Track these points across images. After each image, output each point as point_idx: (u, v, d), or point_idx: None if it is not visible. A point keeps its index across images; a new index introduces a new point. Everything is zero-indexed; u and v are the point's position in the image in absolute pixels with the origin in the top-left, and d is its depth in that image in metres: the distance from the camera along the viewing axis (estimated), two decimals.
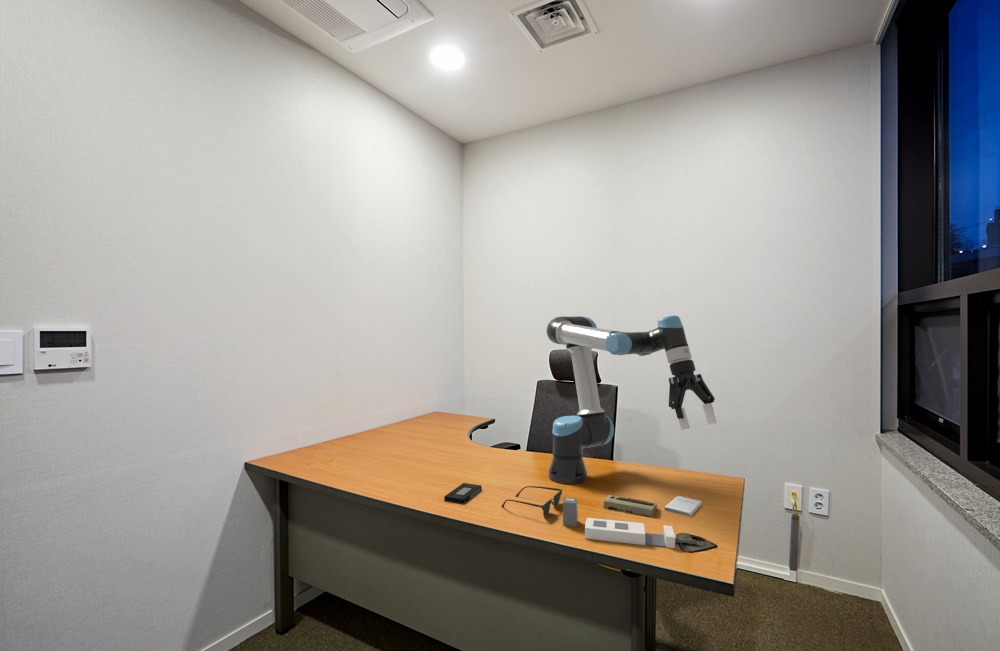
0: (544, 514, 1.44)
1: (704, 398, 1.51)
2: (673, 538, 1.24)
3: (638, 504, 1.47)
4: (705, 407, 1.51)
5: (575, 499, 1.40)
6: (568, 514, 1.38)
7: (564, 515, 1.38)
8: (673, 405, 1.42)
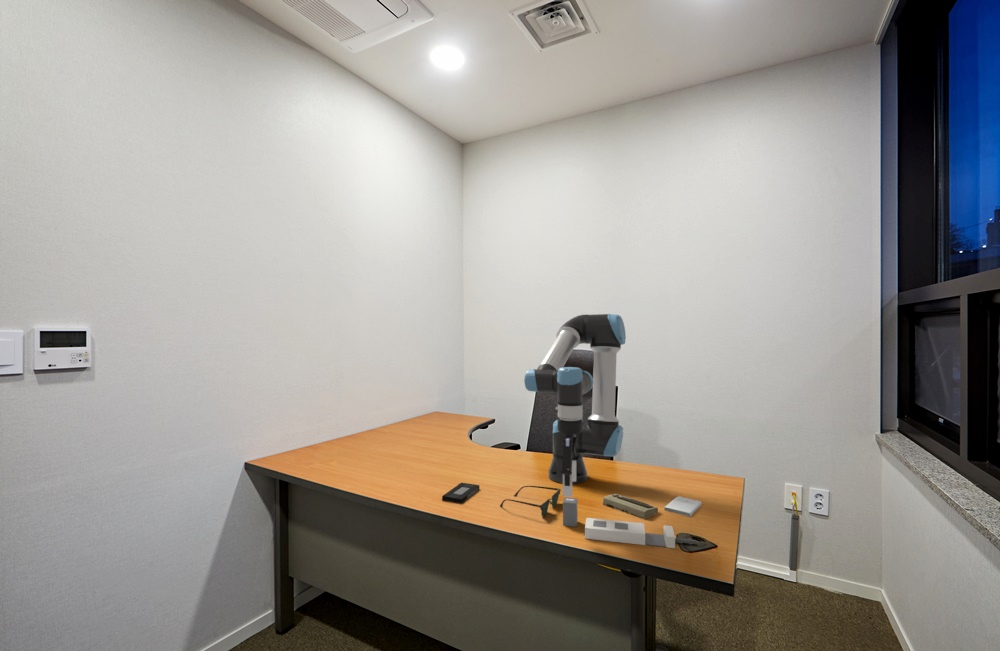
0: (542, 514, 1.44)
1: None
2: (673, 538, 1.24)
3: (635, 505, 1.47)
4: None
5: (575, 499, 1.40)
6: (568, 514, 1.38)
7: (564, 515, 1.38)
8: None
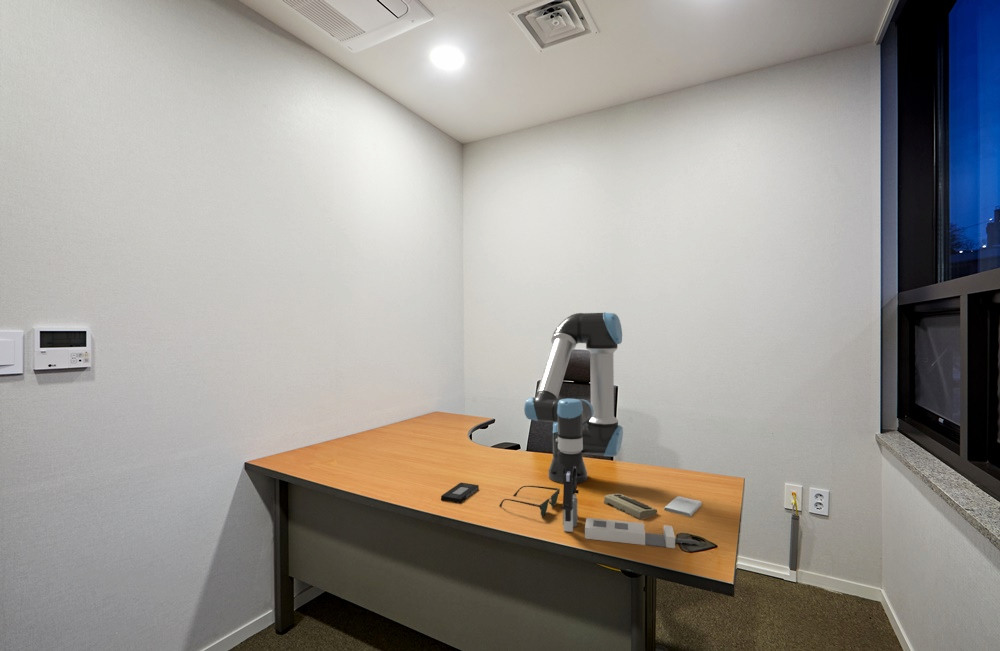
0: (541, 513, 1.44)
1: None
2: (673, 538, 1.24)
3: (633, 505, 1.47)
4: None
5: (575, 499, 1.40)
6: None
7: None
8: None
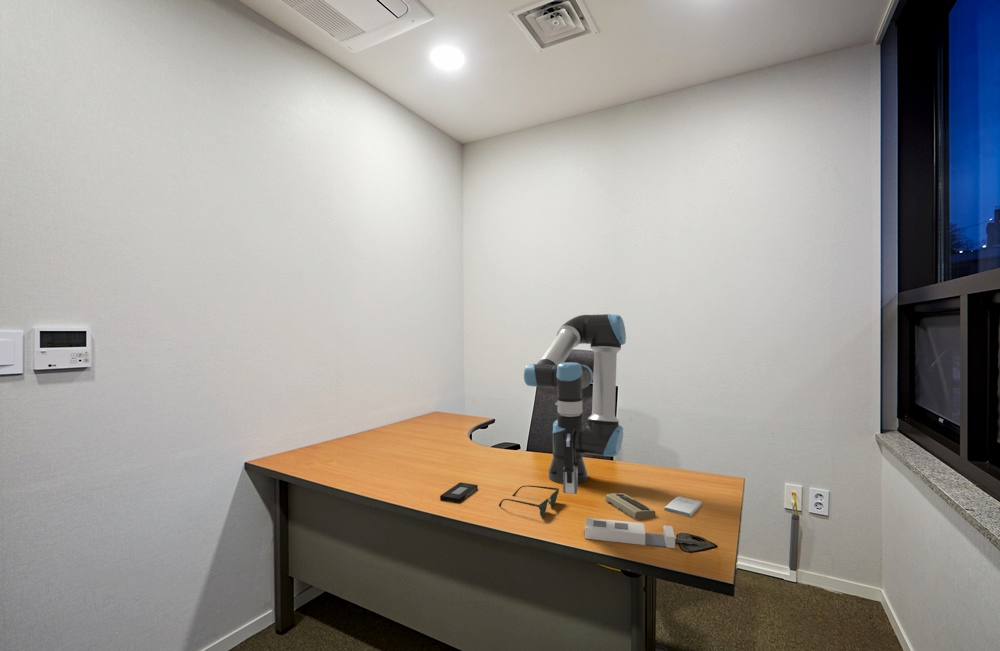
0: (541, 513, 1.44)
1: None
2: (673, 538, 1.24)
3: (631, 505, 1.47)
4: None
5: (575, 467, 1.40)
6: None
7: (564, 483, 1.38)
8: None
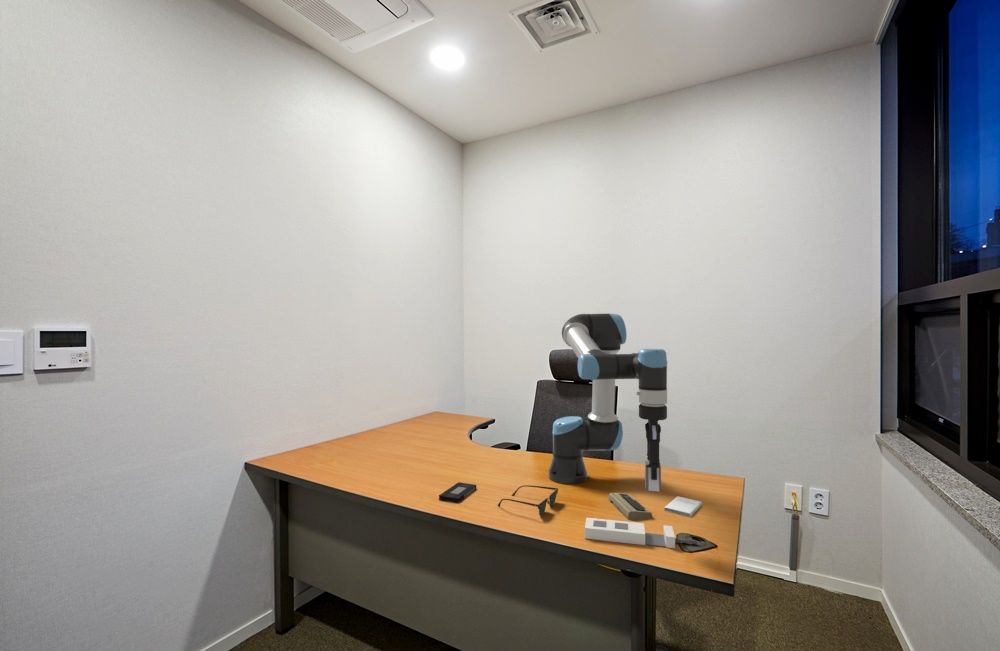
0: (540, 513, 1.44)
1: None
2: (673, 538, 1.24)
3: (628, 505, 1.47)
4: None
5: None
6: None
7: (647, 479, 1.27)
8: None
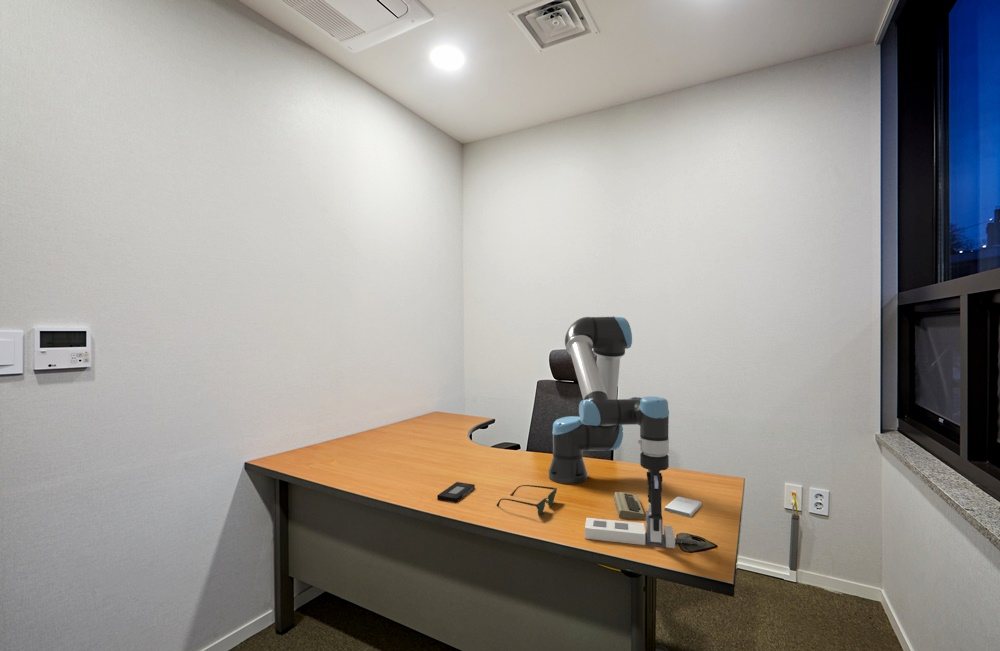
0: (539, 513, 1.45)
1: None
2: (673, 538, 1.24)
3: (624, 504, 1.47)
4: None
5: None
6: None
7: (649, 530, 1.27)
8: None
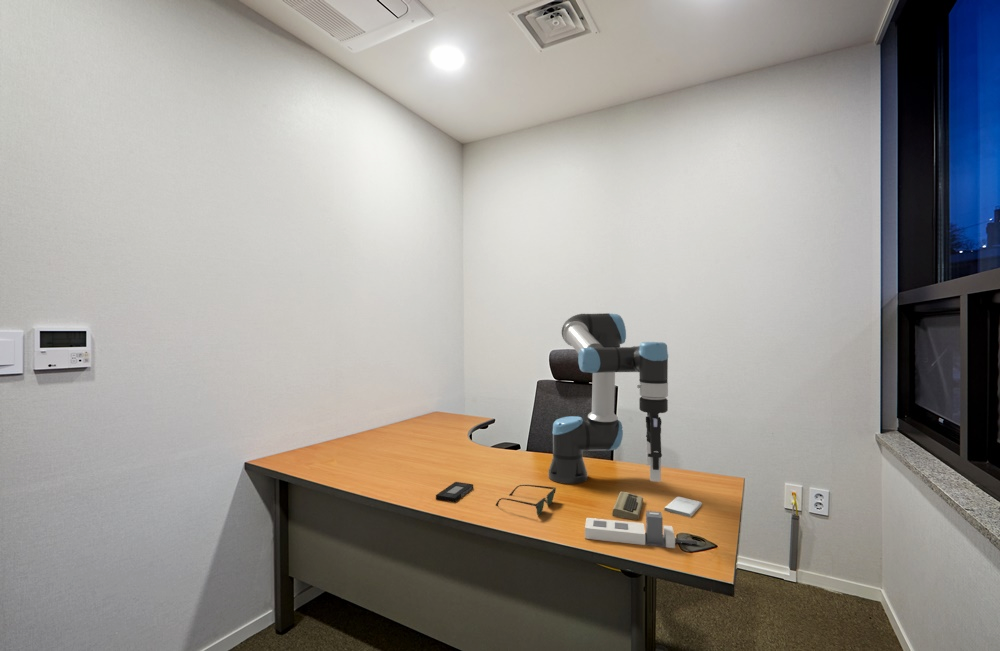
0: (538, 512, 1.45)
1: None
2: (673, 538, 1.24)
3: (621, 503, 1.48)
4: None
5: (659, 513, 1.29)
6: (653, 530, 1.26)
7: (649, 530, 1.27)
8: None
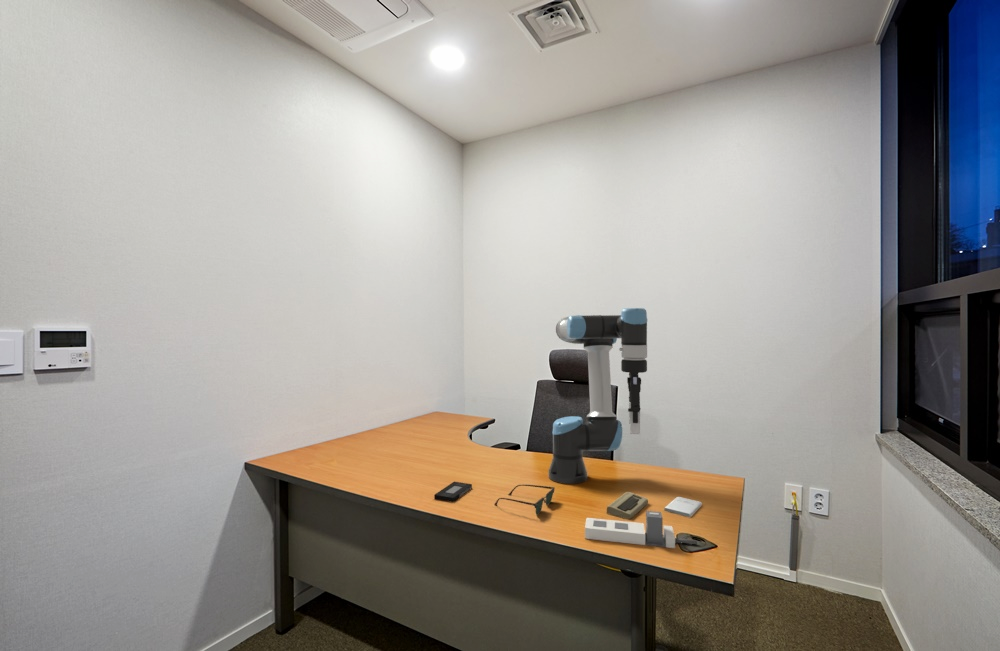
0: (536, 512, 1.45)
1: None
2: (673, 538, 1.24)
3: (618, 502, 1.49)
4: None
5: (659, 513, 1.29)
6: (653, 530, 1.26)
7: (649, 530, 1.27)
8: None
